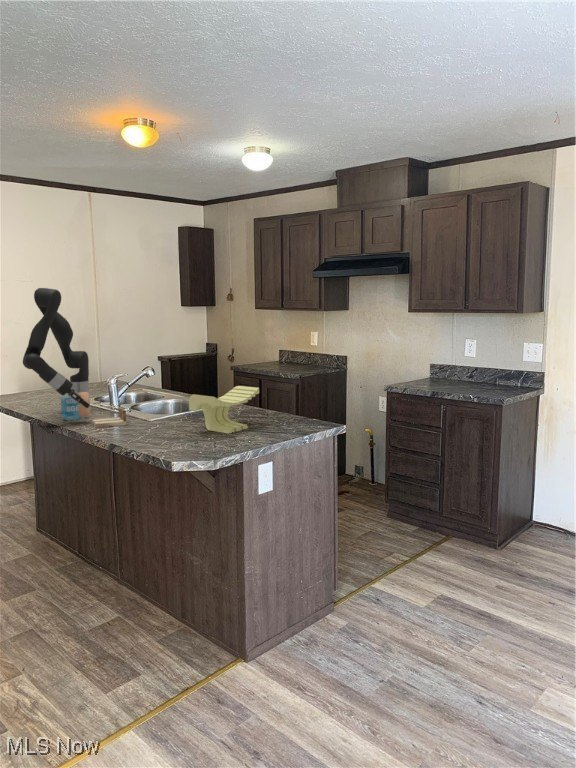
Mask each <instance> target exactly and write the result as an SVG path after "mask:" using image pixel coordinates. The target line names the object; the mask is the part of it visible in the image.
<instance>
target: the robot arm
mask: <svg viewBox="0 0 576 768" xmlns="http://www.w3.org/2000/svg"><path fill="white" fill-rule="evenodd" d="M33 300H34V303H35V304H36V306H37V307H38V309H39V311H40V312H41V315H42V317H41V319H40V320H39V321H38V322H37V323H36V324H35V325H34V327H33V328H32V330H31V332H30V337H29V339H28V345H27V347H26V350H25V352H24V355H23V358H22V365H23V366H24V367H25V368H26V369H28V370H32V371H34V372H35V373H36V374H37V375H38V376H39V378H40V379H41V380H43V381H44V382H45V383H46V384H48V385H49V387H51V388H52V389H53V390H55V392H57V393H58V394H59V395H61V396H65V395H66V394H67V396H69V397H70V398H73V399H74V400H75V401H77V402H79V403H80V404H82V405H83V406H85V407H86V408H88V407H89V406H90V407H91V400H90V399H91V398H90V397H91V396H90V394H89V404H88V403H87V402H86V401H85V400H84V399H82V398H81V396H80V395H79V394H78V392H89V393H90V384H89V382H90V381H89V376H90V374H89V373H90V372H89V371H90V369H89V364H90V363H89V362H90V361H89V355H88V352H86V351H85V350H72V348H71V343H72V340H73V337H74V331H73V329H72V326H71V325H70V322H69V321H68V320H67V318H65V317H64V316H63V315H62V314H61V313H59V312H58V310H59V308H60V306H61V302H62V294H61V292H60V291H59V290H58V289H54V288H48V287H38V288H36V289H35V290H34V293H33ZM49 330H51V333H52V335H53V337H54V338H55V340H56V343H57V345H58V347H59V349H60V351H61V354H62V357H63V360H64V362H65V364H66V366H67V367H68V368H69V369H79V370H78V372H77V373H75V374H72V375H70V377H69V379H68V378H66V377H65V376H64V375H62V374H61V373H60V372H59V371H57V370H56V369H54V368H53V367H52V366H50V364H48V362H46V361H45V359H44V358H42V357H41V353H42V351H43V350H44V348H45V345H46V341H47V337H48V334H49ZM78 395H79V396H78ZM79 398H80V399H81V400H80V401H78V400H79ZM91 410H92V409H90V413H91Z"/></svg>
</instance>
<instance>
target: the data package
mask: <svg viewBox="0 0 576 768" xmlns="http://www.w3.org/2000/svg"><path fill="white" fill-rule="evenodd" d="M60 408H61V418H62V420H64V421H67V422H70V421H69V420H71V421H76V419H77V420H81V419H82V418H81V417H79V409H78V402H77V401H75V400H74V399H73V398H70V397H69V396H68V395H66V396H65V395H63V396H62V397H61V398H60ZM87 418H88V417H85V418H84V419H87ZM82 420H83V419H82Z"/></svg>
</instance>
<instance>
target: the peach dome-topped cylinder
mask: <svg viewBox="0 0 576 768" xmlns="http://www.w3.org/2000/svg"><path fill="white" fill-rule="evenodd" d="M78 394H79V395H80V396H81V398H82V399H84V400H85V401H86V402H87V403H88V404H89V395H90V391H89V392H78ZM79 395H78V396H79ZM80 400H81V399H80V398H79V400H78V401H80ZM78 409H79V417H81V418H84V419H86V418H85V417H87V418H90V417H91V412H90V410H91V405H90V406H89V407H88V408H86V407H85V406H83V405H82V404H80V403H79V402H78Z"/></svg>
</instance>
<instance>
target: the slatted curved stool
mask: <svg viewBox="0 0 576 768" xmlns="http://www.w3.org/2000/svg"><path fill="white" fill-rule="evenodd" d="M259 394H260V387H255V386H246V385H236V386H235V387H233V388H232V389H230V390H229V391H228V392H226V393H224V395H222V396H220V397H215V396H211V395H210V396H209V395H204V394H194V393H193V394H191V395H190V396H189V398H188V411H191V412H197V411H199V410H202V413H203V415H204V422H205V423H204V424H205V427H206V429H207V430H208V431H212V432H218V433H223V434H224V433H225V434H233V433H236V432H239V431H242V430H247V429H249V427H248V424H246V423H240V422H236V421H234V420H232V419H231V418H229V416H228V414H229V410H230V408H231V407H232V406H237V405H241V404H246V403H249V402H248V401H251V400H252V398H255V397H256V395H259ZM232 432H233V433H232Z"/></svg>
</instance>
